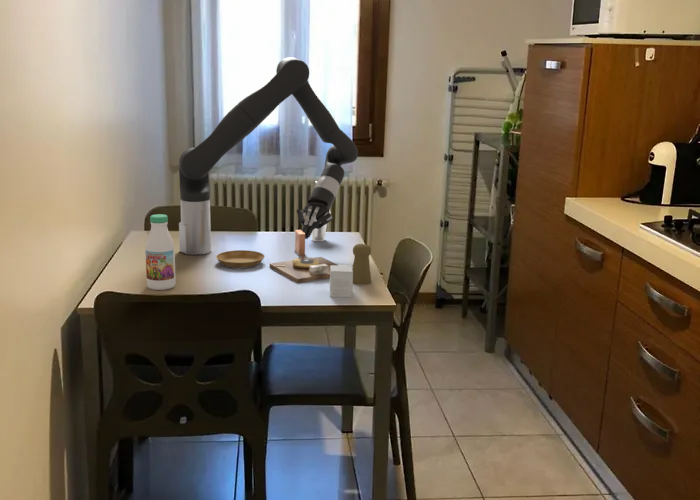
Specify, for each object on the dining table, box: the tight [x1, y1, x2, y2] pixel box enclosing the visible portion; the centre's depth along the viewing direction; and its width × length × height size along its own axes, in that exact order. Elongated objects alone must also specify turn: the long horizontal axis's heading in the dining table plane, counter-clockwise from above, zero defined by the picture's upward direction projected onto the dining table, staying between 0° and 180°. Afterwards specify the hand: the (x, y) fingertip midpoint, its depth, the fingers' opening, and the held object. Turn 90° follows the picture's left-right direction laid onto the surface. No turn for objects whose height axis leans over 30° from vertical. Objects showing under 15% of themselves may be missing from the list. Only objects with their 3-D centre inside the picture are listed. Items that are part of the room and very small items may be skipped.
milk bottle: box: [145, 213, 177, 291], centre depth 209 cm, size 8×8×20 cm
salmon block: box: [291, 229, 319, 268], centre depth 232 cm, size 14×8×8 cm, turn 17°
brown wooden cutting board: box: [269, 256, 338, 284], centre depth 229 cm, size 18×18×4 cm
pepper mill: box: [352, 243, 372, 286], centre depth 220 cm, size 6×6×11 cm
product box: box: [329, 264, 354, 298], centre depth 209 cm, size 6×6×7 cm
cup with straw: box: [310, 180, 332, 242], centre depth 266 cm, size 8×9×20 cm
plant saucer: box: [215, 249, 265, 269], centre depth 236 cm, size 15×15×3 cm
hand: (304, 237), depth 240 cm, fingers closed
